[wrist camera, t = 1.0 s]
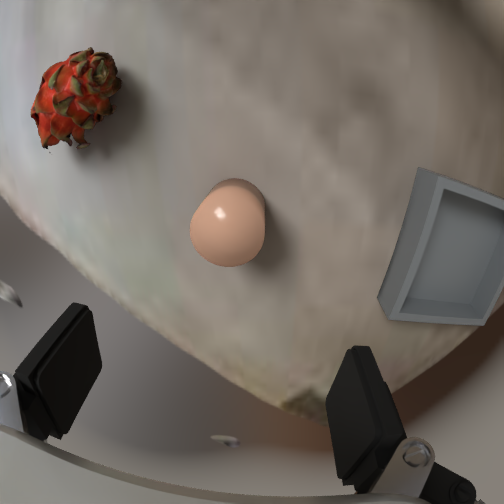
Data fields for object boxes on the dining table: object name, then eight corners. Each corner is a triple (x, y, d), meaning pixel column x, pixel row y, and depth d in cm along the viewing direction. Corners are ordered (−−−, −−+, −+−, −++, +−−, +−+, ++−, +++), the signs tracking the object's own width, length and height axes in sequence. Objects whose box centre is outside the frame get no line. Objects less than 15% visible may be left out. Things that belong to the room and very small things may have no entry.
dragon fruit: (143, 59, 26) (83, 134, 31) (82, 20, 19) (27, 107, 24) (140, 93, 21) (71, 182, 27) (58, 44, 15) (3, 151, 20)
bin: (418, 166, 28) (438, 175, 24) (510, 201, 28) (531, 213, 24) (377, 297, 34) (388, 319, 30) (469, 307, 35) (483, 325, 31)
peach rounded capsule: (208, 174, 29) (192, 191, 23) (269, 183, 30) (270, 202, 23) (203, 230, 32) (187, 260, 26) (260, 239, 32) (258, 271, 26)
